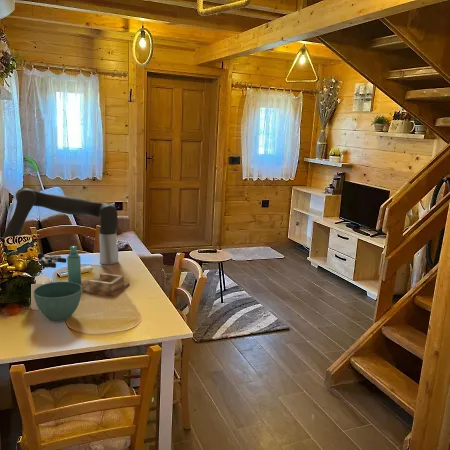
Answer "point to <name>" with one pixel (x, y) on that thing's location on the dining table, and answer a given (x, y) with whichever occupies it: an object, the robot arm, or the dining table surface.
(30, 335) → the dining table surface
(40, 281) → the candle holder
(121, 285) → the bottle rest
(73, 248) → the bottle
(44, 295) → the teal bowl
